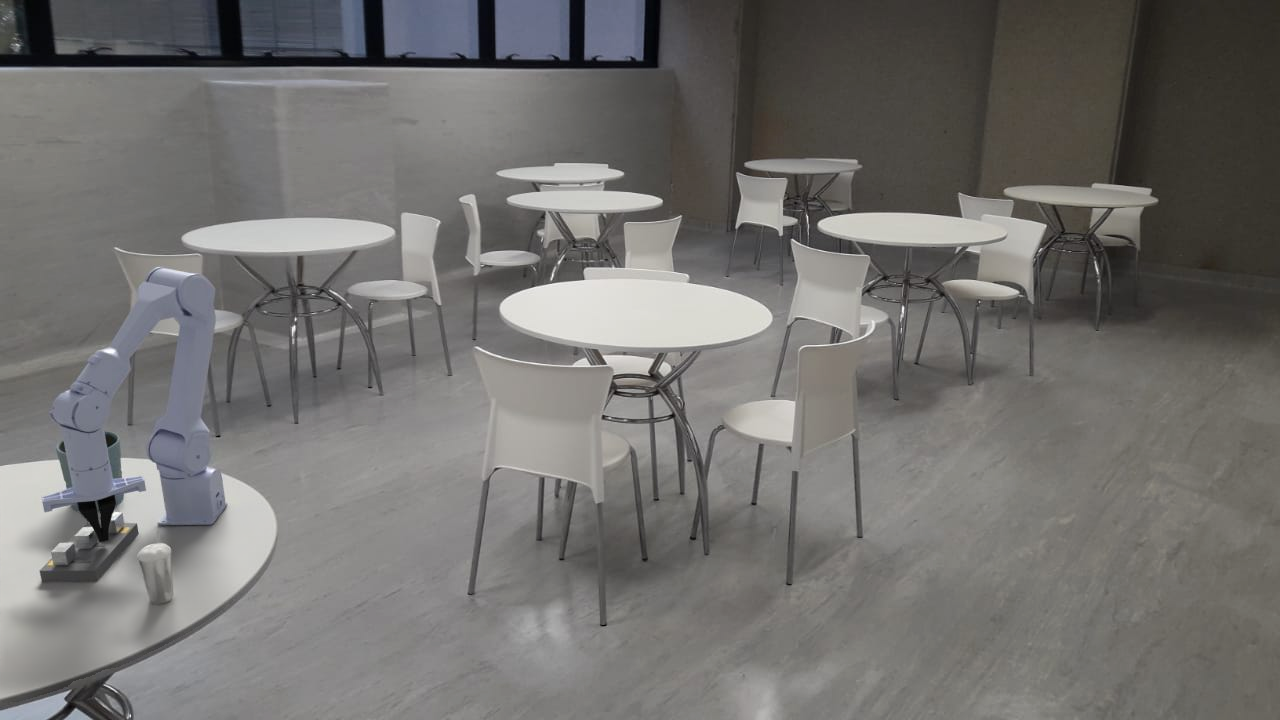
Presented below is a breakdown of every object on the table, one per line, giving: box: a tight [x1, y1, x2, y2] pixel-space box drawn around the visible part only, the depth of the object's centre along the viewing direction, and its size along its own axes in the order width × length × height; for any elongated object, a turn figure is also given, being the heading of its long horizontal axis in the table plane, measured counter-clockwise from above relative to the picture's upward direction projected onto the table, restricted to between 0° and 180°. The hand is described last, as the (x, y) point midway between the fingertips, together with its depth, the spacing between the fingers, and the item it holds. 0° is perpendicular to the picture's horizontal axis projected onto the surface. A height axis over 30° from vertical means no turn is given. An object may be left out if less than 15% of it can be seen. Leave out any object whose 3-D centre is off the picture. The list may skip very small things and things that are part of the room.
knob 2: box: [74, 526, 99, 549], centre depth 162 cm, size 2×3×2 cm
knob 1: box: [50, 542, 77, 565], centre depth 157 cm, size 2×3×2 cm
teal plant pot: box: [55, 430, 125, 513], centre depth 179 cm, size 10×10×12 cm
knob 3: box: [109, 511, 125, 533], centre depth 167 cm, size 2×3×2 cm
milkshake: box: [137, 530, 175, 605], centre depth 151 cm, size 4×5×10 cm
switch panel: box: [39, 522, 139, 583], centre depth 163 cm, size 8×15×2 cm, turn 2°
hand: (103, 538), depth 162 cm, fingers closed
